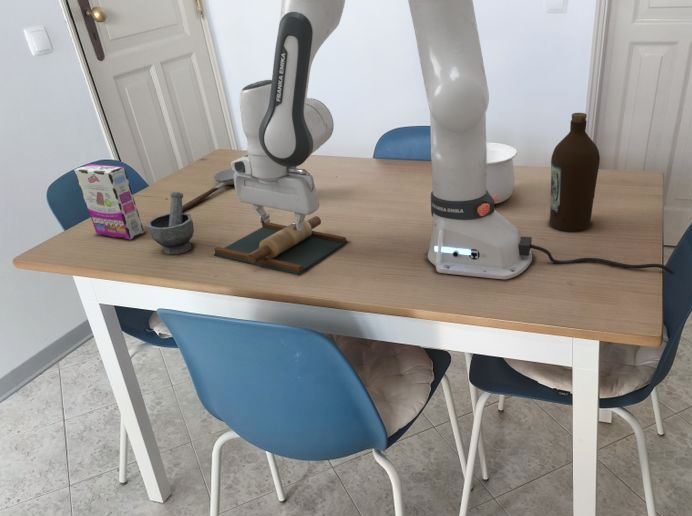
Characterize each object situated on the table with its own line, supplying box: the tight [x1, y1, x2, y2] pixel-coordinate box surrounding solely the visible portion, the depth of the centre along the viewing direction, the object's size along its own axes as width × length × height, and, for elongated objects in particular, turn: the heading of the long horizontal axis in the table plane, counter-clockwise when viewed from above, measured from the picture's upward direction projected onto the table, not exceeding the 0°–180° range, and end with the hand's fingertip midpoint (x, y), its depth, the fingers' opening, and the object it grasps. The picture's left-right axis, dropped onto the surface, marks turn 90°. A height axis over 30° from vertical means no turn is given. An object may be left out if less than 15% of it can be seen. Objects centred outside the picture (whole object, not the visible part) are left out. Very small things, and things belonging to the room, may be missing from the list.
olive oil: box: [549, 112, 601, 232], centre depth 142 cm, size 11×11×25 cm
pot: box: [486, 141, 518, 205], centre depth 161 cm, size 22×17×12 cm
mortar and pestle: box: [147, 191, 195, 255], centre depth 143 cm, size 11×9×12 cm
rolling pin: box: [248, 215, 322, 265], centre depth 141 cm, size 4×23×4 cm, turn 152°
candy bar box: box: [73, 163, 145, 241], centre depth 150 cm, size 11×5×16 cm, turn 68°
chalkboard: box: [213, 222, 348, 276], centre depth 143 cm, size 24×18×2 cm
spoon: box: [182, 167, 235, 213], centre depth 174 cm, size 11×33×3 cm, turn 158°
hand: (281, 226), depth 139 cm, fingers open, 8 cm apart
